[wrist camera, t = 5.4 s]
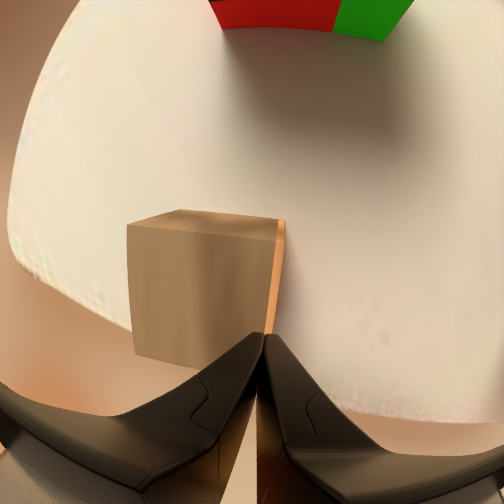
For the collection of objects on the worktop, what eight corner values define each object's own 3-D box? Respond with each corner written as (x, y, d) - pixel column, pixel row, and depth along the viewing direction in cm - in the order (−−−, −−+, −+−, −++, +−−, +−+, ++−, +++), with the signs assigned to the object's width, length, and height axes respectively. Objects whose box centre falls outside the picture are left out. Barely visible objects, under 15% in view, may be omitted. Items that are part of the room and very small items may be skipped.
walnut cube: (284, 242, 9) (126, 224, 10) (264, 380, 11) (135, 354, 11) (284, 219, 15) (180, 209, 16) (271, 317, 17) (177, 303, 17)
